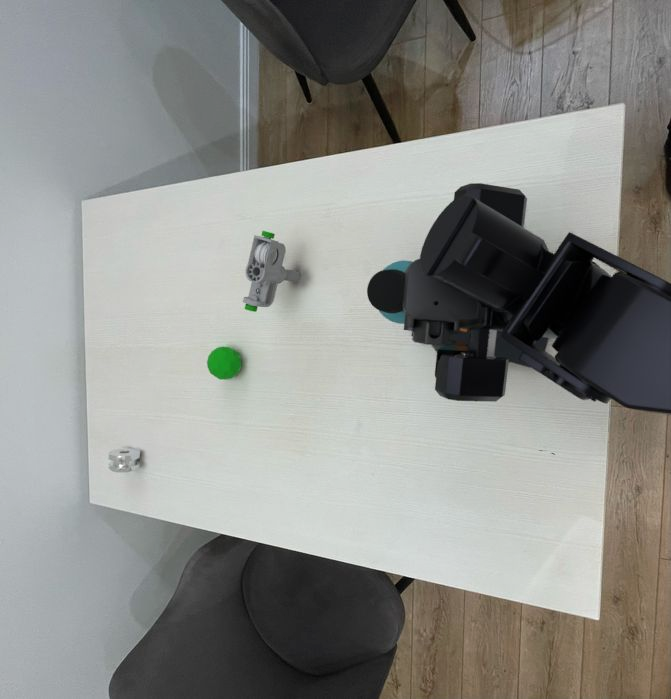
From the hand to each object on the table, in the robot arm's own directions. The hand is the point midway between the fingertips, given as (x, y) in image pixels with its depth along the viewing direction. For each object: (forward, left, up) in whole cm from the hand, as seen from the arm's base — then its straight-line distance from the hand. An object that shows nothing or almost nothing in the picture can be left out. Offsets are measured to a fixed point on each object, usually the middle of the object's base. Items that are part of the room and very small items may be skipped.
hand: (436, 293), depth 56 cm
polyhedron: (+32, +17, -12) cm, 39 cm away
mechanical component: (+24, +2, -12) cm, 27 cm away
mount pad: (-3, 0, -12) cm, 12 cm away
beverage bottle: (+2, 0, -11) cm, 12 cm away
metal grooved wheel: (+49, +39, -12) cm, 64 cm away
